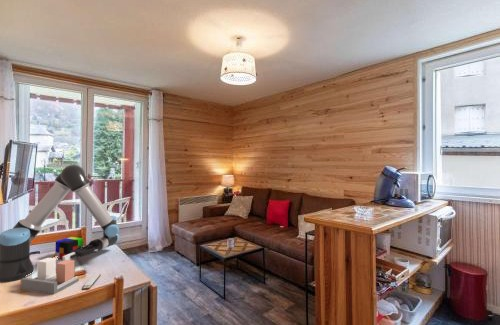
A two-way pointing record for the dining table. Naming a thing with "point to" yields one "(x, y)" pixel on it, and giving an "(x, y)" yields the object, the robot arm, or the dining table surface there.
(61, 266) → the salmon pink block
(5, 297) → the dining table surface
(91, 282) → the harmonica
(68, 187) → the robot arm
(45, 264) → the white rectangular block
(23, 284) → the base
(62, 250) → the puzzle toy
